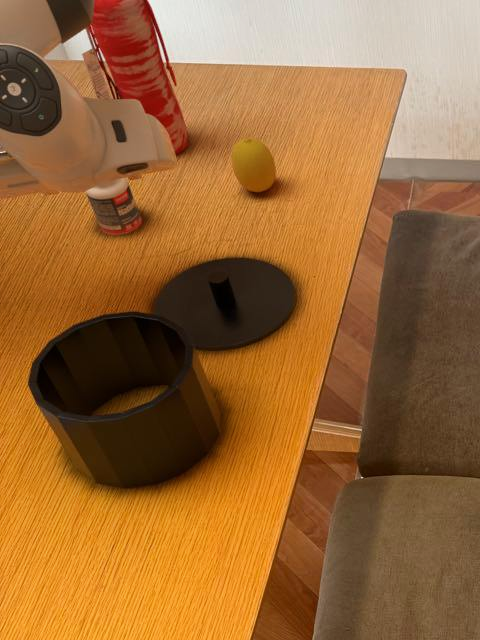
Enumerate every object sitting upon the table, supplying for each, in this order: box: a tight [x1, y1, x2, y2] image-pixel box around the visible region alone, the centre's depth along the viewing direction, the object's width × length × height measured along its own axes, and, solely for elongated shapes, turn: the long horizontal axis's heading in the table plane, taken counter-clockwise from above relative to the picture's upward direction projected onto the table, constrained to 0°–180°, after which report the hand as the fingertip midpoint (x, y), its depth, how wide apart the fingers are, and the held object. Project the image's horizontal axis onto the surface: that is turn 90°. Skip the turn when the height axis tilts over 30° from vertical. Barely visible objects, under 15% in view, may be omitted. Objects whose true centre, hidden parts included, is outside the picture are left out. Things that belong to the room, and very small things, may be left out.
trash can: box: [27, 310, 221, 489], centre depth 93 cm, size 16×16×10 cm
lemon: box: [231, 136, 277, 193], centre depth 120 cm, size 6×6×8 cm
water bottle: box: [81, 0, 188, 155], centre depth 119 cm, size 12×8×25 cm, turn 93°
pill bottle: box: [84, 177, 143, 236], centre depth 115 cm, size 5×5×9 cm
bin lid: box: [154, 256, 297, 352], centre depth 108 cm, size 17×17×5 cm
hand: (92, 179), depth 104 cm, fingers open, 8 cm apart
